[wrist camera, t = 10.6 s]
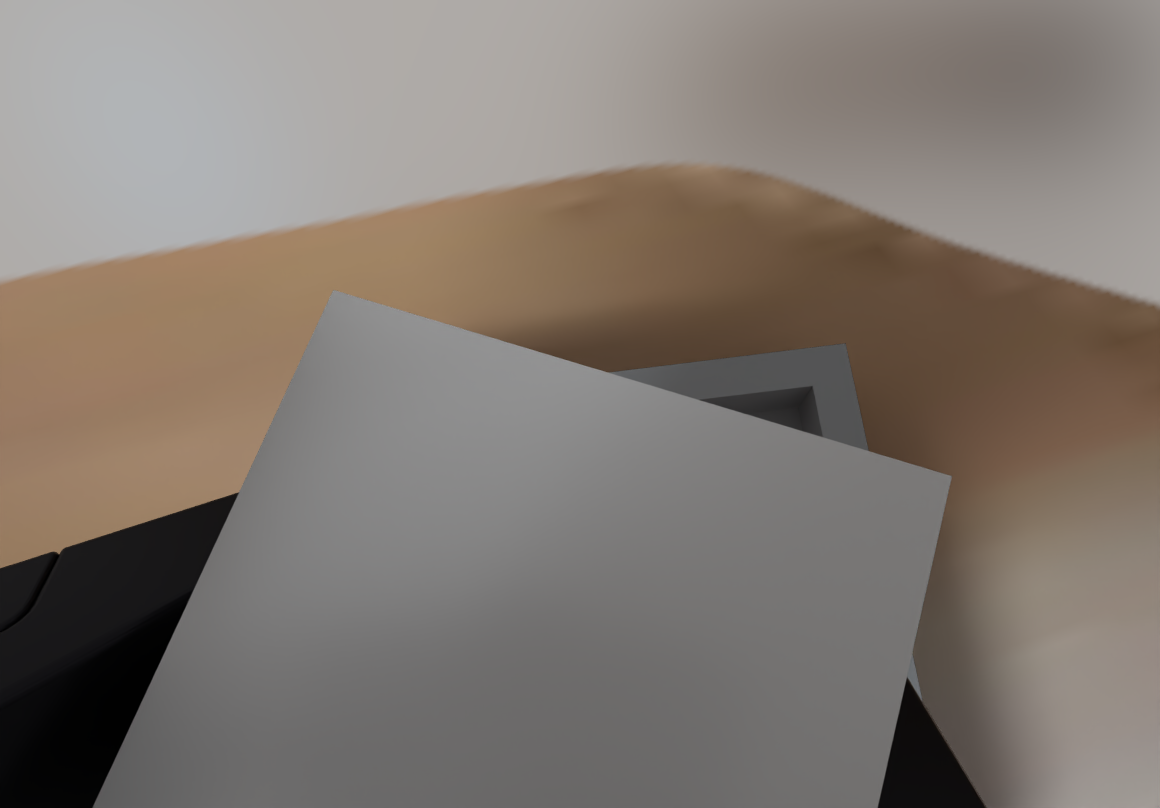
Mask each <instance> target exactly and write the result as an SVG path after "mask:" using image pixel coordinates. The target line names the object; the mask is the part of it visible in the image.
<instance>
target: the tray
mask: <svg viewBox="0 0 1160 808" xmlns="http://www.w3.org/2000/svg"><path fill="white" fill-rule="evenodd" d="M609 373H611V374H614V375H617V376H621V377H624V378H627V379H631V380H634V381H637V382H641V383H644V384H647V385H651V386H654V387H657V388H661V389H664V390H667V391H671V392H674V393H677V394H681V395H684V396H687V397H690V398H694V399H697V400H700V401H704V402H707V403H710V404H714V405H717V406H720V407H724V408H727V409H730V410H734V411H737V412H740V413H744V414H747V415H750V416H754V417H757V418H760V419H764V420H767V421H770V422H774V423H777V424H780V425H784V426H787V427H790V428H793V429H797V430H800V431H803V432H807V433H810V434H813V435H817V436H820V437H823V438H827V439H830V440H833V441H837V442H840V443H843V444H847V445H850V446H853V447H857V448H860V449H863V450H867V451H869V450H868V445H867V441H866V436H865V431H864V427H863V422H862V417H861V413H860V408H859V403H858V399H857V394H856V390H855V385H854V380H853V376H852V371H851V366H850V362H849V357H848V352H847V348H846V343H845V344H837V345H829V346H820V347H812V348H804V349H796V350H788V351H780V352H772V353H763V354H755V355H747V356H739V357H731V358H723V359H715V360H707V361H698V362H690V363H682V364H674V365H666V366H658V367H650V368H641V369H633V370H625V371H617V372H609ZM907 677H908V679H909V680H910V682H911V684H912V685H913V687H914V688H915V690H916V692H917V693H918V695H919V697H920V698H921V700H922V696H921V691H920V687H919V682H918V677H917V673H916V668H915V663H914V659H913V654H912V656H911V661H910V665H909V670H908V674H907ZM922 702H923V700H922Z"/></svg>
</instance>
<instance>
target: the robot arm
mask: <svg viewBox="0 0 1160 808" xmlns="http://www.w3.org/2000/svg"><path fill="white" fill-rule="evenodd" d="M238 494H239V493H235V494H232V495H229V496H226V497H223V498H220V499H217V500H214V501H210V502H207V503H204V504H201V505H198V506H195V507H192V508H189V509H185V510H182V511H179V512H176V513H173V514H170V515H167V516H163V517H160V518H157V519H154V520H151V521H148V522H145V523H142V524H138V525H135V526H132V527H129V528H126V529H123V530H120V531H116V532H113V533H110V534H107V535H104V536H101V537H98V538H94V539H91V540H88V541H85V542H82V543H79V544H76V545H72V546H69V547H66V548H64V549H63V550H62V551H61V552H60V554H58V553H57V552H50V553H47V554H44V555H41V556H38V557H34V558H31V559H28V560H25V561H22V562H19V563H16V564H13V565H9V566H6V567H3V568H0V808H93V806H94V804H95V801H96V799H97V797H98V795H99V793H100V791H101V788H102V786H103V784H104V782H105V780H106V778H107V776H108V773H109V771H110V769H111V767H112V765H113V763H114V761H115V758H116V756H117V754H118V752H119V750H120V748H121V745H122V743H123V741H124V739H125V737H126V735H127V733H128V730H129V728H130V726H131V724H132V722H133V720H134V718H135V715H136V713H137V711H138V709H139V707H140V705H141V702H142V700H143V698H144V696H145V694H146V692H147V690H148V687H149V685H150V683H151V681H152V679H153V677H154V675H155V672H156V670H157V668H158V666H159V664H160V662H161V660H162V657H163V655H164V653H165V651H166V649H167V647H168V644H169V642H170V640H171V638H172V636H173V634H174V632H175V629H176V627H177V625H178V623H179V621H180V619H181V617H182V614H183V612H184V610H185V608H186V606H187V604H188V601H189V599H190V597H191V595H192V593H193V591H194V589H195V586H196V584H197V582H198V580H199V578H200V576H201V574H202V571H203V569H204V567H205V565H206V563H207V561H208V558H209V556H210V554H211V552H212V550H213V548H214V546H215V543H216V541H217V539H218V537H219V535H220V533H221V531H222V528H223V526H224V524H225V522H226V520H227V518H228V515H229V513H230V511H231V509H232V507H233V505H234V503H235V500H236V498H237V496H238ZM878 808H987V807H986V805H985V804H984V802H983V800H982V799H981V797H980V795H979V794H978V792H977V791H976V789H975V787H974V786H973V784H972V782H971V781H970V779H969V777H968V776H967V774H966V772H965V771H964V769H963V767H962V766H961V764H960V763H959V761H958V759H957V758H956V756H955V754H954V753H953V751H952V749H951V748H950V746H949V744H948V743H947V741H946V740H945V738H944V736H943V735H942V733H941V731H940V730H939V728H938V726H937V725H936V723H935V721H934V720H933V718H932V716H931V715H930V713H929V712H928V710H927V708H926V707H925V705H924V703H923V702H922V700H921V698H920V697H919V695H918V693H917V692H916V690H915V688H914V687H913V685H912V684H911V682H910V680H909V679H908V677H907V679H906V683H905V688H904V692H903V696H902V701H901V705H900V710H899V714H898V719H897V723H896V728H895V732H894V737H893V741H892V745H891V750H890V754H889V759H888V763H887V768H886V772H885V777H884V781H883V786H882V790H881V794H880V799H879V803H878Z"/></svg>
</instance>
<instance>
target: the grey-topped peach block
mask: <svg viewBox="0 0 1160 808" xmlns="http://www.w3.org/2000/svg"><path fill="white" fill-rule="evenodd" d="M951 478H952V476H950V475H946V474H943V473H940V472H936V471H933V470H930V469H926V468H923V467H920V466H916V465H913V464H910V463H906V462H903V461H900V460H896V459H893V458H890V457H886V456H883V455H880V454H877V453H873V452H870V451H867V450H863V449H860V448H857V447H853V446H850V445H847V444H843V443H840V442H837V441H833V440H830V439H827V438H823V437H820V436H817V435H813V434H810V433H807V432H803V431H800V430H797V429H793V428H790V427H787V426H784V425H780V424H777V423H774V422H770V421H767V420H764V419H760V418H757V417H754V416H750V415H747V414H744V413H740V412H737V411H734V410H730V409H727V408H724V407H720V406H717V405H714V404H710V403H707V402H704V401H700V400H697V399H694V398H690V397H687V396H684V395H681V394H677V393H674V392H671V391H667V390H664V389H661V388H657V387H654V386H651V385H647V384H644V383H641V382H637V381H634V380H631V379H627V378H624V377H621V376H617V375H614V374H611V373H607V372H604V371H601V370H597V369H594V368H591V367H588V366H584V365H581V364H578V363H574V362H571V361H568V360H564V359H561V358H558V357H554V356H551V355H548V354H544V353H541V352H538V351H534V350H531V349H528V348H524V347H521V346H518V345H514V344H511V343H508V342H504V341H501V340H498V339H495V338H491V337H488V336H485V335H481V334H478V333H475V332H471V331H468V330H465V329H461V328H458V327H455V326H451V325H448V324H445V323H441V322H438V321H435V320H431V319H428V318H425V317H421V316H418V315H415V314H411V313H408V312H405V311H402V310H398V309H395V308H392V307H388V306H385V305H382V304H378V303H375V302H372V301H368V300H365V299H362V298H358V297H355V296H352V295H348V294H345V293H342V292H338V291H335V290H333V292H332V294H331V296H330V298H329V301H328V303H327V305H326V307H325V309H324V311H323V313H322V316H321V318H320V320H319V322H318V324H317V326H316V328H315V331H314V333H313V335H312V337H311V339H310V341H309V344H308V346H307V348H306V350H305V352H304V354H303V356H302V359H301V361H300V363H299V365H298V367H297V369H296V371H295V374H294V376H293V378H292V380H291V382H290V384H289V387H288V389H287V391H286V393H285V395H284V397H283V399H282V402H281V404H280V406H279V408H278V410H277V412H276V414H275V417H274V419H273V421H272V423H271V425H270V427H269V430H268V432H267V434H266V436H265V438H264V440H263V442H262V445H261V447H260V449H259V451H258V453H257V455H256V457H255V460H254V462H253V464H252V466H251V468H250V470H249V473H248V475H247V477H246V479H245V481H244V483H243V485H242V488H241V490H240V492H239V494H238V496H237V498H236V500H235V503H234V505H233V507H232V509H231V511H230V513H229V515H228V518H227V520H226V522H225V524H224V526H223V528H222V531H221V533H220V535H219V537H218V539H217V541H216V543H215V546H214V548H213V550H212V552H211V554H210V556H209V558H208V561H207V563H206V565H205V567H204V569H203V571H202V574H201V576H200V578H199V580H198V582H197V584H196V586H195V589H194V591H193V593H192V595H191V597H190V599H189V601H188V604H187V606H186V608H185V610H184V612H183V614H182V617H181V619H180V621H179V623H178V625H177V627H176V629H175V632H174V634H173V636H172V638H171V640H170V642H169V644H168V647H167V649H166V651H165V653H164V655H163V657H162V660H161V662H160V664H159V666H158V668H157V670H156V672H155V675H154V677H153V679H152V681H151V683H150V685H149V687H148V690H147V692H146V694H145V696H144V698H143V700H142V702H141V705H140V707H139V709H138V711H137V713H136V715H135V718H134V720H133V722H132V724H131V726H130V728H129V730H128V733H127V735H126V737H125V739H124V741H123V743H122V745H121V748H120V750H119V752H118V754H117V756H116V758H115V761H114V763H113V765H112V767H111V769H110V771H109V773H108V776H107V778H106V780H105V782H104V784H103V786H102V788H101V791H100V793H99V795H98V797H97V799H96V801H95V804H94V806H93V808H878V803H879V799H880V794H881V790H882V786H883V781H884V777H885V772H886V768H887V763H888V759H889V754H890V750H891V745H892V741H893V737H894V732H895V728H896V723H897V719H898V714H899V710H900V705H901V701H902V696H903V692H904V688H905V683H906V679H907V674H908V670H909V665H910V661H911V656H912V652H913V647H914V643H915V638H916V634H917V630H918V625H919V621H920V616H921V612H922V607H923V603H924V598H925V594H926V589H927V585H928V581H929V576H930V572H931V567H932V563H933V558H934V554H935V549H936V545H937V540H938V536H939V532H940V527H941V523H942V518H943V514H944V509H945V505H946V500H947V496H948V491H949V487H950V483H951Z"/></svg>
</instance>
